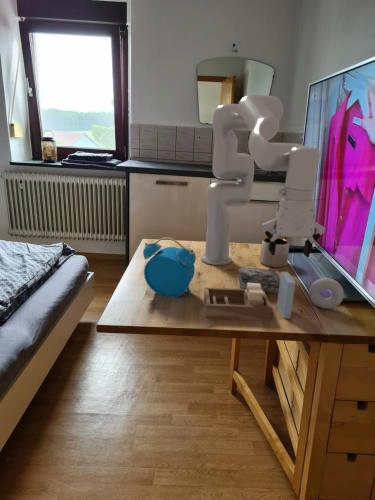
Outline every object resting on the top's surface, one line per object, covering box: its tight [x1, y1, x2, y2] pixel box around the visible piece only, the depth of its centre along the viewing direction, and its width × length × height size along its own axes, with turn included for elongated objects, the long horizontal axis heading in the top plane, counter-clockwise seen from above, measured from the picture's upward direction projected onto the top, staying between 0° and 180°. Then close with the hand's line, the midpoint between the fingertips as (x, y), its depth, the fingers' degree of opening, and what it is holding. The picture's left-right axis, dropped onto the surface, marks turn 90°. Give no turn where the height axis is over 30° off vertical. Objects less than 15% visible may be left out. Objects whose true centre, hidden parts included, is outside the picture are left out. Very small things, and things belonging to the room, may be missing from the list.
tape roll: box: [308, 277, 345, 310], centre depth 116 cm, size 10×3×10 cm, turn 71°
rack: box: [203, 287, 273, 322], centre depth 112 cm, size 12×18×5 cm, turn 90°
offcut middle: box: [244, 290, 264, 306], centre depth 111 cm, size 8×4×2 cm, turn 3°
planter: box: [259, 236, 291, 269], centre depth 153 cm, size 11×11×10 cm
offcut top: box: [247, 283, 263, 301], centre depth 110 cm, size 7×4×2 cm, turn 176°
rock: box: [237, 267, 281, 295], centre depth 126 cm, size 16×8×10 cm, turn 73°
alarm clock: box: [142, 236, 197, 298], centre depth 119 cm, size 17×10×20 cm, turn 71°
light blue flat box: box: [276, 271, 296, 319], centre depth 111 cm, size 8×2×12 cm, turn 0°
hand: (289, 254), depth 107 cm, fingers open, 9 cm apart
